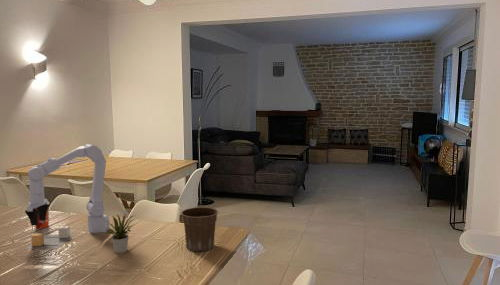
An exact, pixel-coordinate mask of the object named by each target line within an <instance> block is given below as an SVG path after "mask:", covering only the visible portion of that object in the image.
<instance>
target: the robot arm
mask: <svg viewBox="0 0 500 285" xmlns="http://www.w3.org/2000/svg"><path fill="white" fill-rule="evenodd" d="M86 157H87V158H88V159H90V161H92V162H93V163H94V169H93V176H92V186H91V193H90V196H89V200H88V201H87V204H86V209H87V212H88V214H87V224H88V225H87V228H88V232H89V233H91V234H96V233H107V231H109V229H108V228H110V229H111V227H110V224H109V223H110V216H109V215H108V214H104V212H105V206H104V199H103V192H104V181H105V175H106V167H107V160H106V158H105V156H104V154H103V151H102V150H101V148H100V147H98V146H97V145H93V144H91V143H86V144H84V145H80V146H78V147H76V148H75V149H73V150H71V151H69V152H67V153H66V154H64V155H61V156H59V157H58V158H55V157H52V158H47V159H46V161H44V162H42V163H41V164H40V163H37V164H36V165H37V166H32V167H30V168H29V170H28V171H27V176H28V177H29V184H28V188H29V201H30V202H28V203H27V205H28V206H27V207H26V210H25V211H24V213H25V214H26V215H27V218H28V219H29V222H30V224H31V226H36V225H37V223H38V215H39V218H40V220H45V219H46V214H47V210H48V208H50V204H51V203H49V204H46V203H48V202H49V201H48V199H47V198H45V183H44V178H45V176H48V175H50V174H52V173H54V172H56V171H57V170H59V169H61V166H63V164H66V163H68V162H70V161H73V160H74V159H77V158H86ZM47 201H48V202H47ZM36 208H37V210H35V209H36ZM103 220H104V221H103ZM106 221H107V222H106ZM108 222H109V223H108Z"/></svg>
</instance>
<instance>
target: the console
mask: <svg viewBox="0 0 500 285" xmlns="http://www.w3.org/2000/svg"><path fill="white" fill-rule="evenodd" d="M75 235H76V234H75V233H73V234H71V233H70V237H68V238H59V234H44V244H43V245H42V246H32V243H31V244H29V245H27V246H26V247H24V250H57V249H58V248H60V247H61V246H62V245H64V244H65V243H66V242H67V241H69V239H72V238H73V236H75Z"/></svg>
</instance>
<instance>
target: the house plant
mask: <svg viewBox="0 0 500 285" xmlns="http://www.w3.org/2000/svg"><path fill="white" fill-rule="evenodd" d="M135 216H136V214H134V215H131V216H129V217H128V218H127V219H126V213H125V214H124V215H123V217H122V219H121V217H120V216H119V215H118V214H116V217H115V215H112V220H113V222H114V223H113V224H114V225H113V224H111V223H110V221H109V222H108V223H109V226H111V227H112V229H111V227H110V228H108V230H107V231H106V233H108V234H111V235H112V237H111V242H112V246H113V251H114V253H117V254H118V253H119V254H120V253H121V254H122V253H125V252H126V251H128V243H129V233H131V231H132V230H131V228H132V229H133V226H134V224H132V225H131V226H130V224H131V223H132V221H133V222H134V221H135V220H136V218H135V219H131V218H133V217H135ZM125 220H126V221H125ZM103 221H104V220H103ZM106 222H107V221H106Z"/></svg>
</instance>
